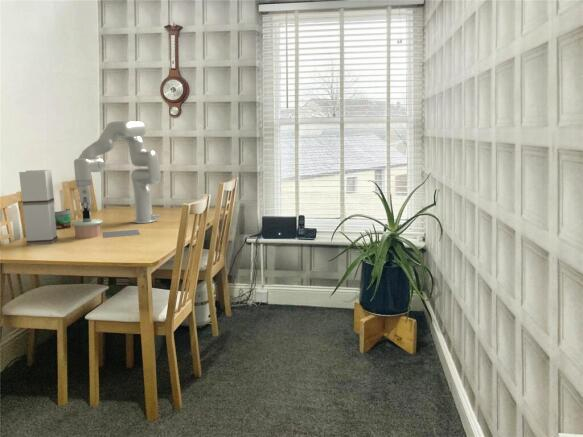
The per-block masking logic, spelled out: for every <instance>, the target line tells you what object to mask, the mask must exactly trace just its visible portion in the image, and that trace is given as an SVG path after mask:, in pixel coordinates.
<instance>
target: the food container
mask: <svg viewBox="0 0 583 437" xmlns="http://www.w3.org/2000/svg"><path fill="white" fill-rule="evenodd" d="M71 217H72V210H71V209H70V208H65V210H60V211H55V222H56V230H64V229H65V228H66V229H70V228H71V226H72V225H71V222H72V221H71V220H72V218H71Z"/></svg>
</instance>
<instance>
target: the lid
mask: <svg viewBox="0 0 583 437" xmlns="http://www.w3.org/2000/svg"><path fill="white" fill-rule="evenodd" d="M89 212H90V218H89V219H83V218H82V219H79V220H74V221H71V226H74V227H75V226H90V225H97V224H100V225H101V224H103V223H104V221H103V219H100V218H99V219H98V218H94V219H93V218H92V214H91V210H90V211H89ZM81 215H82V217H83V211H82V212H81Z"/></svg>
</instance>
